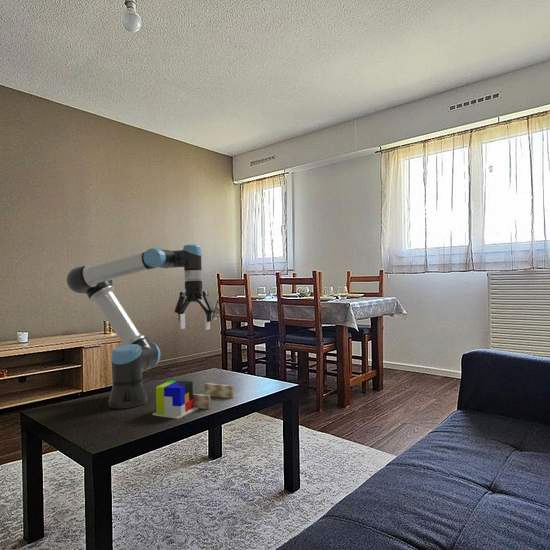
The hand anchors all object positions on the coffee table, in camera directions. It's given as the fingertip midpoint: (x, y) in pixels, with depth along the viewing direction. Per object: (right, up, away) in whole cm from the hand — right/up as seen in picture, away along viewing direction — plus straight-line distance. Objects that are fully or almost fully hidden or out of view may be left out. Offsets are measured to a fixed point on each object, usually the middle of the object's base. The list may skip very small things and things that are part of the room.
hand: (195, 329), depth 181 cm
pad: (-3, -29, -23) cm, 37 cm away
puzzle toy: (-3, -28, -23) cm, 37 cm away
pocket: (+7, -28, -10) cm, 31 cm away
